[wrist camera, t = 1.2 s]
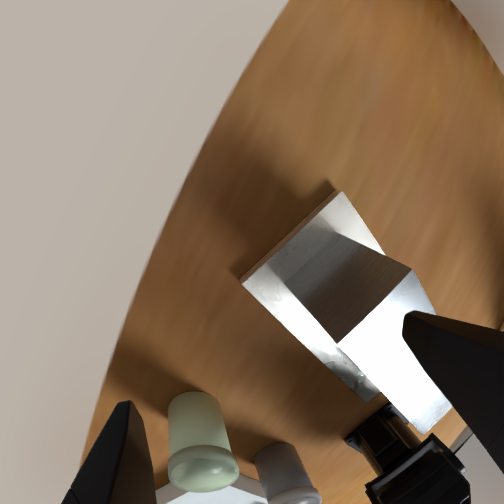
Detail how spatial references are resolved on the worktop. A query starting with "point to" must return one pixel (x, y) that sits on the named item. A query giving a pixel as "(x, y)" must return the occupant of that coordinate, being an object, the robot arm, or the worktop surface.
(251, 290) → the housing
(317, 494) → the grey cup
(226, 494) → the tray
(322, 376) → the worktop surface
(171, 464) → the cylinder
